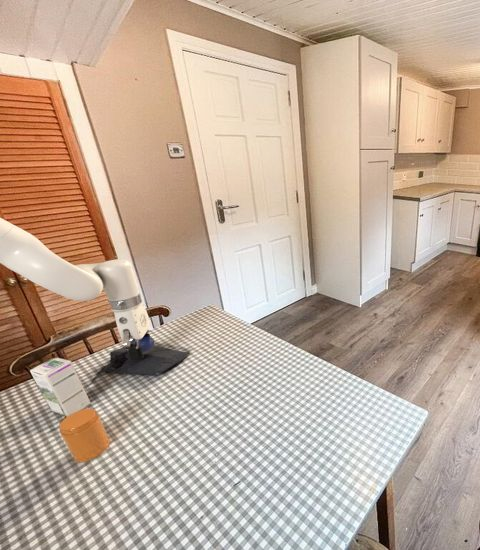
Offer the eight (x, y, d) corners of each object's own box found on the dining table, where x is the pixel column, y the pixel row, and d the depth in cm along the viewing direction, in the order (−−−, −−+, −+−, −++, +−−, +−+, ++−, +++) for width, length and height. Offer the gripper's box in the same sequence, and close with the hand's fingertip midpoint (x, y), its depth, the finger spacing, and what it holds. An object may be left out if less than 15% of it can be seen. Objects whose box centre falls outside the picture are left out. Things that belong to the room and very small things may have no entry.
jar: (67, 466, 66) (50, 434, 62) (82, 441, 71) (67, 411, 68) (102, 457, 68) (88, 426, 64) (114, 434, 73) (101, 404, 70)
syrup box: (91, 403, 83) (72, 359, 77) (66, 420, 77) (44, 374, 72) (76, 398, 84) (56, 355, 79) (51, 415, 79) (28, 370, 73)
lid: (124, 347, 95) (122, 343, 94) (150, 338, 100) (149, 333, 99) (130, 356, 90) (128, 352, 90) (157, 346, 95) (156, 342, 95)
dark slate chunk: (155, 384, 89) (150, 371, 87) (97, 372, 94) (92, 360, 92) (194, 353, 103) (191, 341, 101) (142, 344, 108) (138, 333, 106)
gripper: (129, 313, 82) (146, 366, 89) (150, 288, 98) (163, 335, 104) (96, 317, 80) (116, 371, 87) (122, 291, 96) (138, 338, 102)
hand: (142, 351), depth 96 cm, fingers closed on lid, 7 cm apart
